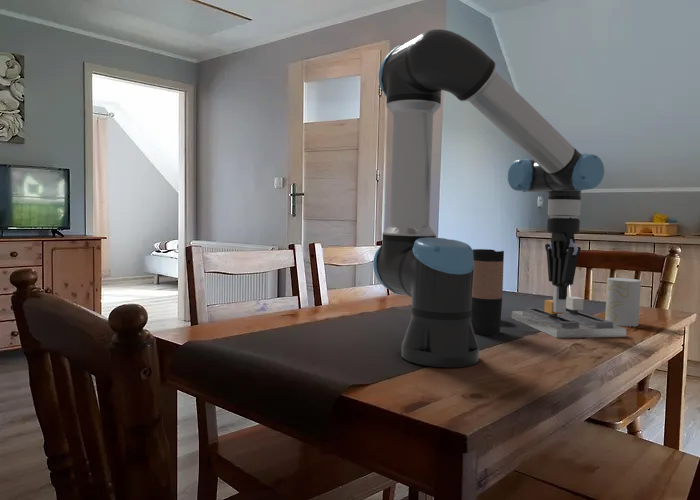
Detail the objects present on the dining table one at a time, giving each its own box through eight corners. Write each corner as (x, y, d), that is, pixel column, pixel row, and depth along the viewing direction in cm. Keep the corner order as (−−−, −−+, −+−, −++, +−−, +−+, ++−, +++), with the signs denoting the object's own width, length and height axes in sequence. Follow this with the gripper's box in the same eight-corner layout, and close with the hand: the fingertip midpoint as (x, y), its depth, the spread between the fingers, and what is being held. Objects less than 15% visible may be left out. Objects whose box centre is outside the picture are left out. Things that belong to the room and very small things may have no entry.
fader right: (572, 316, 148) (573, 298, 147) (564, 314, 151) (565, 296, 151) (582, 316, 148) (583, 298, 148) (575, 314, 152) (576, 296, 151)
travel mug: (468, 334, 134) (471, 250, 133) (469, 327, 141) (472, 248, 140) (501, 336, 132) (504, 251, 131) (500, 330, 140) (503, 249, 138)
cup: (598, 321, 155) (600, 277, 154) (622, 320, 158) (624, 277, 157) (620, 327, 147) (623, 281, 147) (645, 325, 150) (648, 281, 149)
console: (556, 337, 132) (557, 324, 132) (511, 318, 156) (512, 306, 156) (625, 336, 135) (626, 323, 135) (571, 317, 159) (571, 306, 159)
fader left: (550, 321, 141) (551, 302, 140) (543, 318, 144) (544, 299, 144) (562, 321, 141) (563, 302, 141) (554, 318, 145) (555, 299, 144)
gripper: (592, 218, 133) (587, 316, 134) (563, 217, 145) (559, 307, 147) (563, 217, 132) (558, 316, 133) (536, 216, 144) (532, 307, 146)
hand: (559, 311), depth 140 cm, fingers closed
